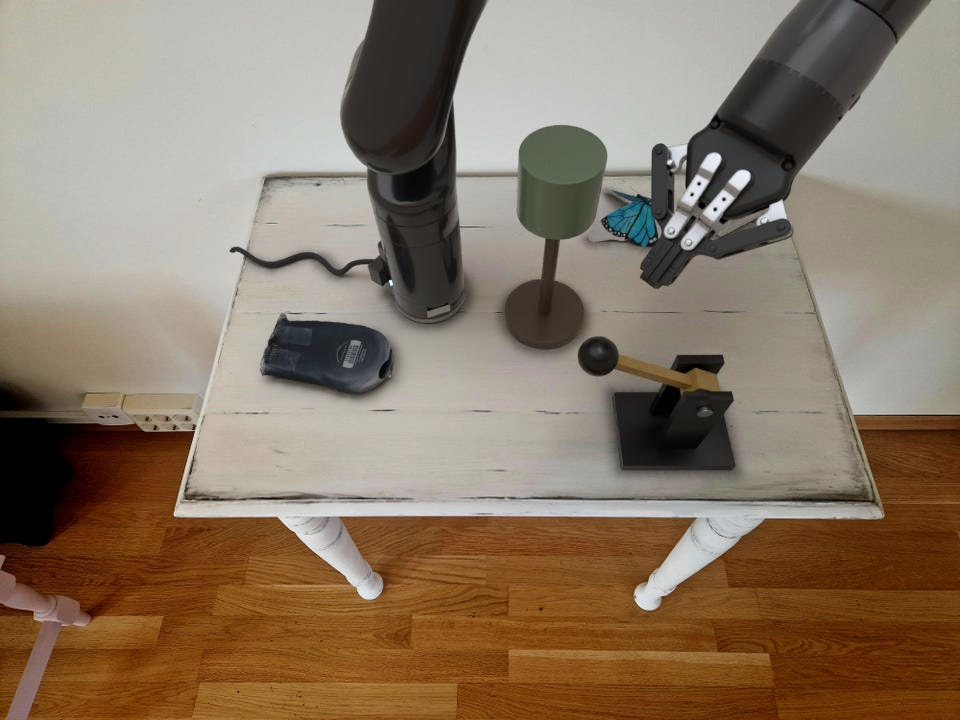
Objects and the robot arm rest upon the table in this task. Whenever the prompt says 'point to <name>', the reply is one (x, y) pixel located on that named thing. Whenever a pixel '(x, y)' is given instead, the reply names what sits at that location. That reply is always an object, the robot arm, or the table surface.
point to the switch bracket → (675, 424)
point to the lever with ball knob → (639, 367)
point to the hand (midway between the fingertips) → (649, 283)
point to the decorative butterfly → (628, 223)
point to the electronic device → (327, 354)
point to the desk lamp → (554, 227)
